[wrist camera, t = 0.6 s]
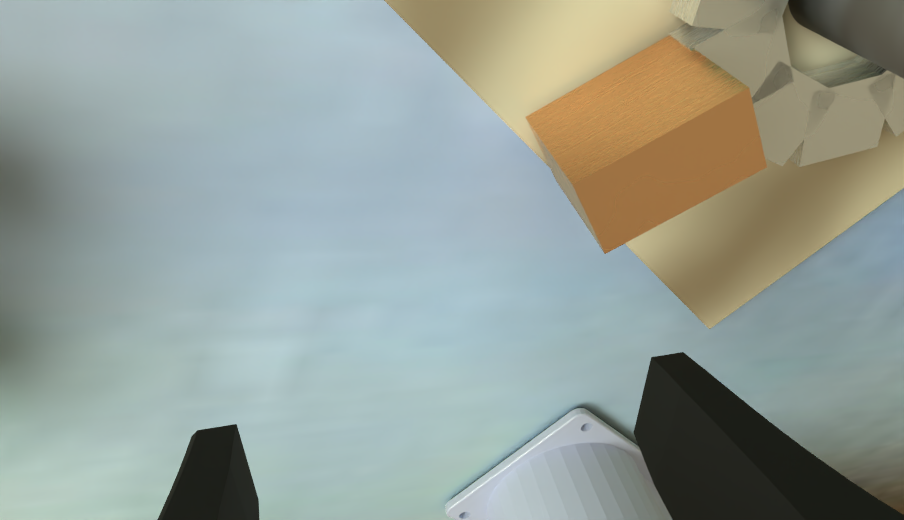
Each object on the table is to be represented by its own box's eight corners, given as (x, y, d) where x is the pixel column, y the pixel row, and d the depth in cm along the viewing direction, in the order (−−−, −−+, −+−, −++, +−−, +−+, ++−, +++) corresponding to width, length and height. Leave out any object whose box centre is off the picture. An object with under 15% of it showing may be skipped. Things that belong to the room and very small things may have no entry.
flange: (1032, -348, 15) (1221, -372, 12) (1009, 44, 21) (1130, 92, 18) (465, -6, 16) (507, 47, 13) (597, 263, 22) (646, 341, 19)
